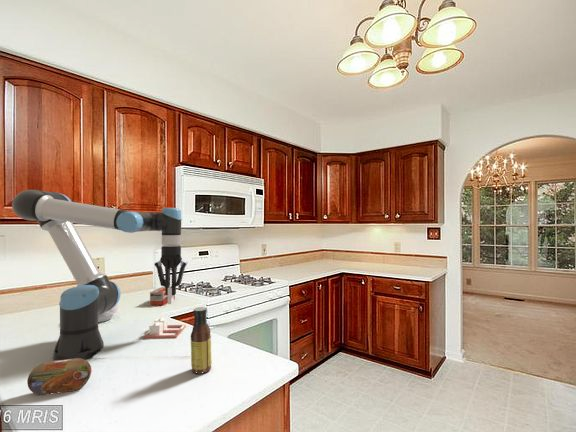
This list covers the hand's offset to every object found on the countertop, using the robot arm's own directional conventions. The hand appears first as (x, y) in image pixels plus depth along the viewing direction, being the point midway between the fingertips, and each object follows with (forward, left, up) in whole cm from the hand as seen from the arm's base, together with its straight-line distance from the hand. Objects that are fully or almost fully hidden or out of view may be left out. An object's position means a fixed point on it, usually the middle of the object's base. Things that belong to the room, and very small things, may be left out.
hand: (170, 303), depth 129 cm
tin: (-39, +18, -15) cm, 45 cm away
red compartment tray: (+3, +3, -14) cm, 15 cm away
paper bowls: (+25, +42, -14) cm, 51 cm away
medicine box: (+57, +23, -15) cm, 63 cm away
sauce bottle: (-29, -19, -14) cm, 37 cm away
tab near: (0, +6, -13) cm, 14 cm away
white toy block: (+6, +6, -13) cm, 15 cm away
